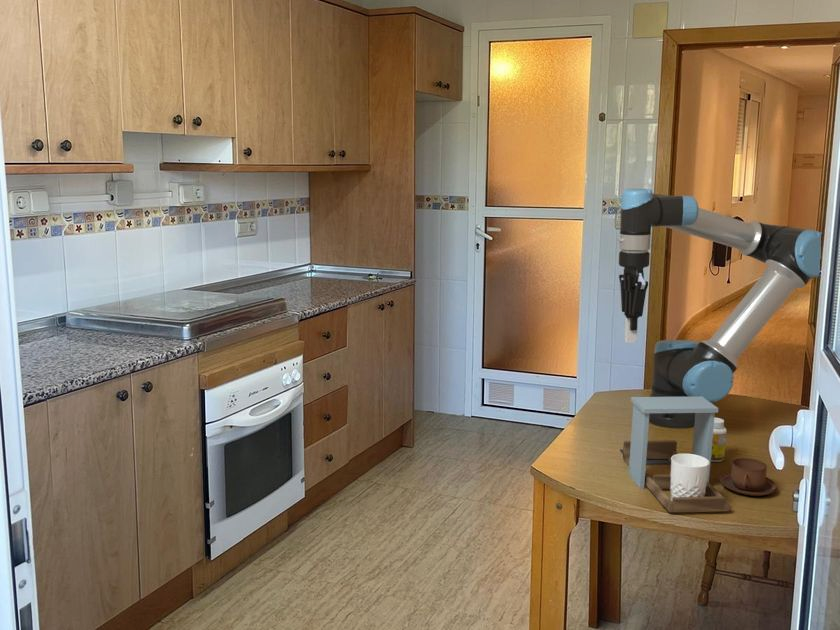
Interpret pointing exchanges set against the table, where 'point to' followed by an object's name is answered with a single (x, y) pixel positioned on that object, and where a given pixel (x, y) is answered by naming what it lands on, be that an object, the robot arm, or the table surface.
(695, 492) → the white cup
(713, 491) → the wooden serving tray
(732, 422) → the table surface
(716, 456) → the supplement bottle
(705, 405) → the tunnel
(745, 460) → the cup and saucer
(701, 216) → the robot arm
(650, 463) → the pit mat
